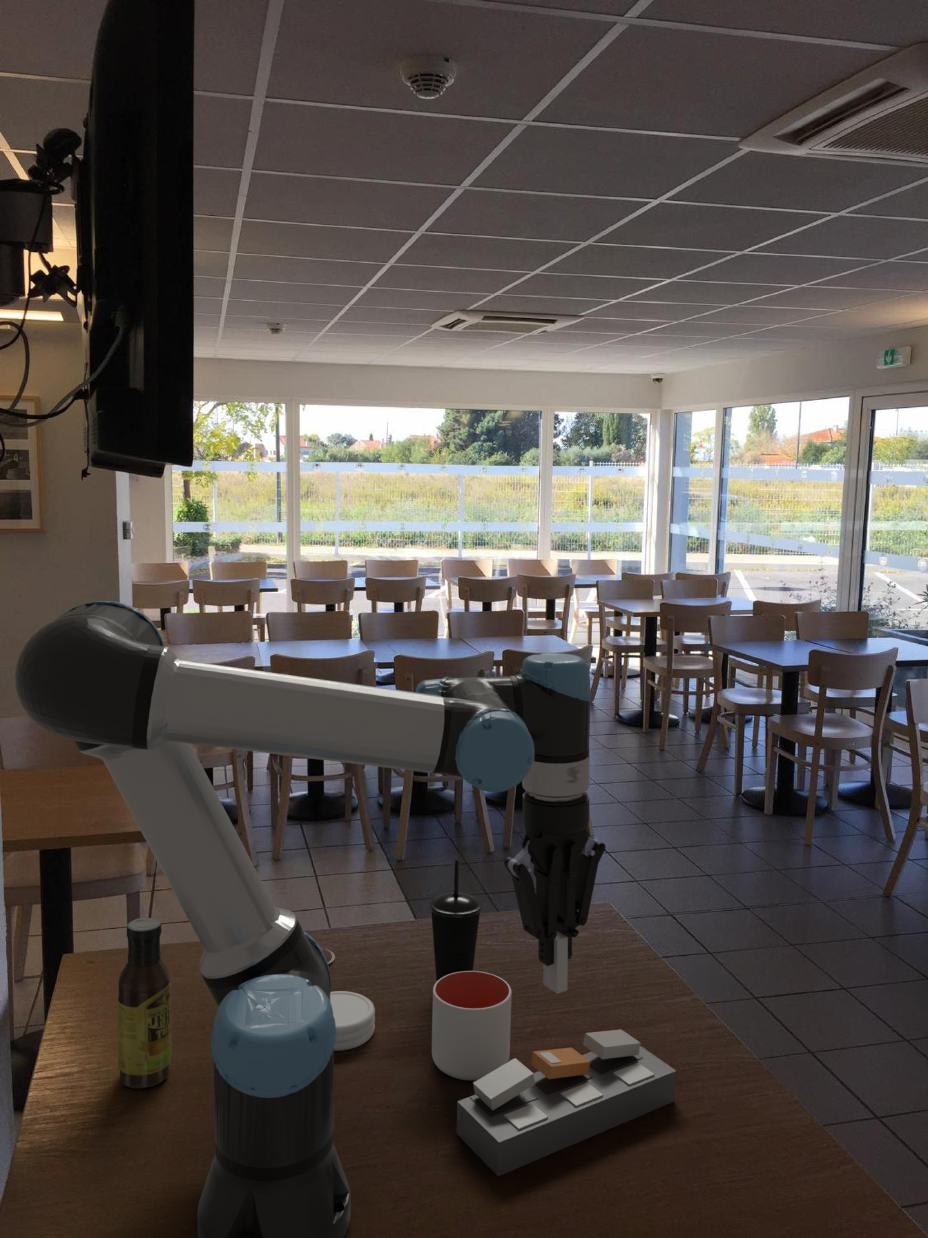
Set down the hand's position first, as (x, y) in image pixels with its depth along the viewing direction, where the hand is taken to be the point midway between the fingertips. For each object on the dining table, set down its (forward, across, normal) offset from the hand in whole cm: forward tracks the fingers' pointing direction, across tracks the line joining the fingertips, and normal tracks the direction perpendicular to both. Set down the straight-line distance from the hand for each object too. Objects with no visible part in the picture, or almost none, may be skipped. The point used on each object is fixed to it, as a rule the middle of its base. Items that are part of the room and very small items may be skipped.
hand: (555, 987), depth 119 cm
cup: (+16, -3, +14) cm, 22 cm away
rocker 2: (+11, +1, +1) cm, 11 cm away
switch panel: (+16, +1, -1) cm, 16 cm away
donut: (+16, -11, +49) cm, 53 cm away
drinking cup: (+16, +4, +30) cm, 35 cm away
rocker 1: (+11, -7, 0) cm, 13 cm away
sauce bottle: (+15, -40, +31) cm, 53 cm away
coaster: (+16, -15, +29) cm, 36 cm away
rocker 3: (+11, +9, +1) cm, 14 cm away
